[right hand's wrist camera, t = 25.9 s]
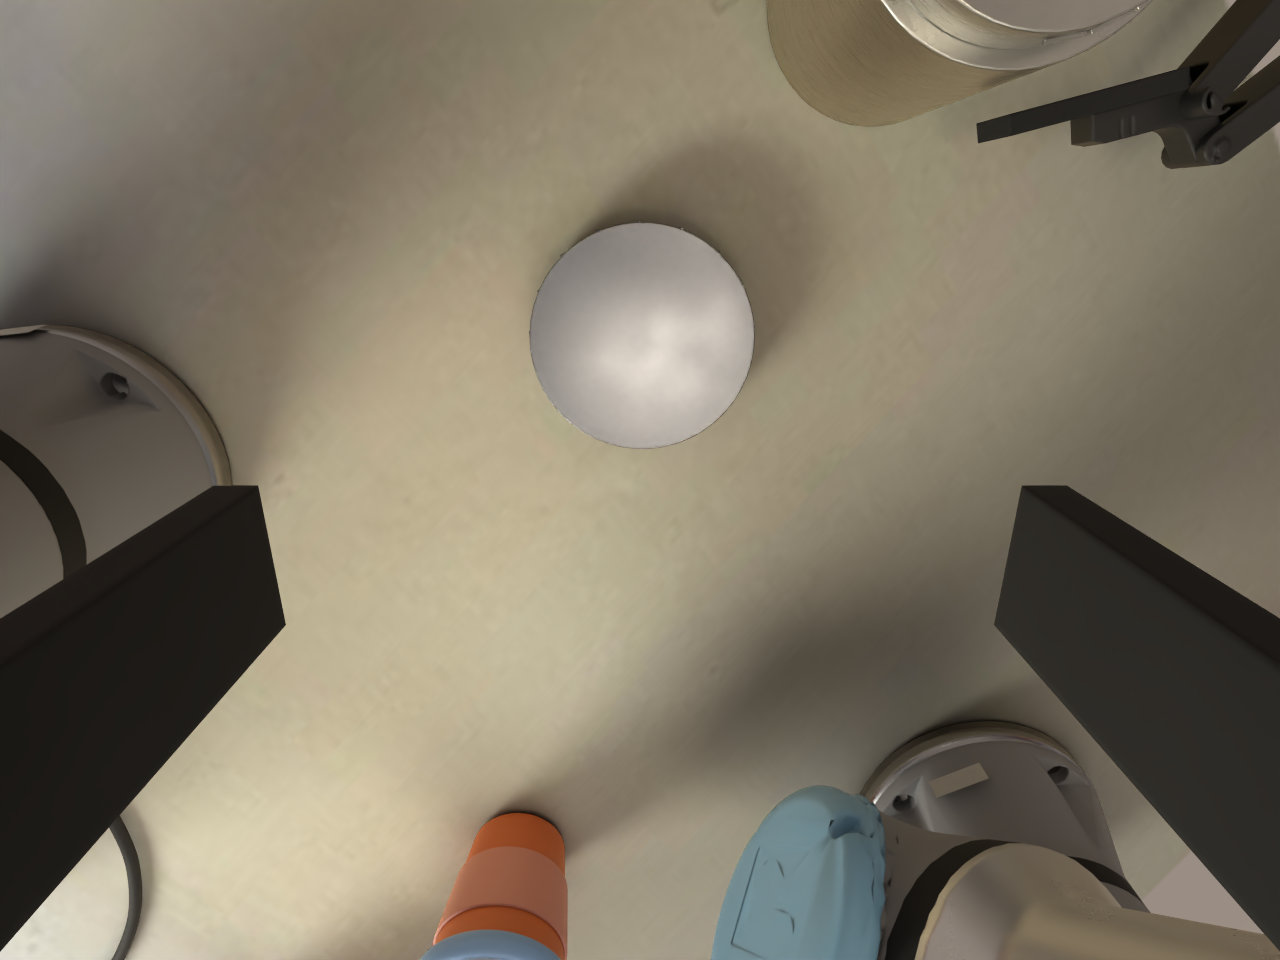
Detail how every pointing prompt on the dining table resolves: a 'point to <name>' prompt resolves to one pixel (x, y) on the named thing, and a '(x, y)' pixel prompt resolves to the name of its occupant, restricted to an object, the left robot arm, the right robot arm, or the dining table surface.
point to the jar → (926, 48)
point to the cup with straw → (507, 896)
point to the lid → (642, 335)
